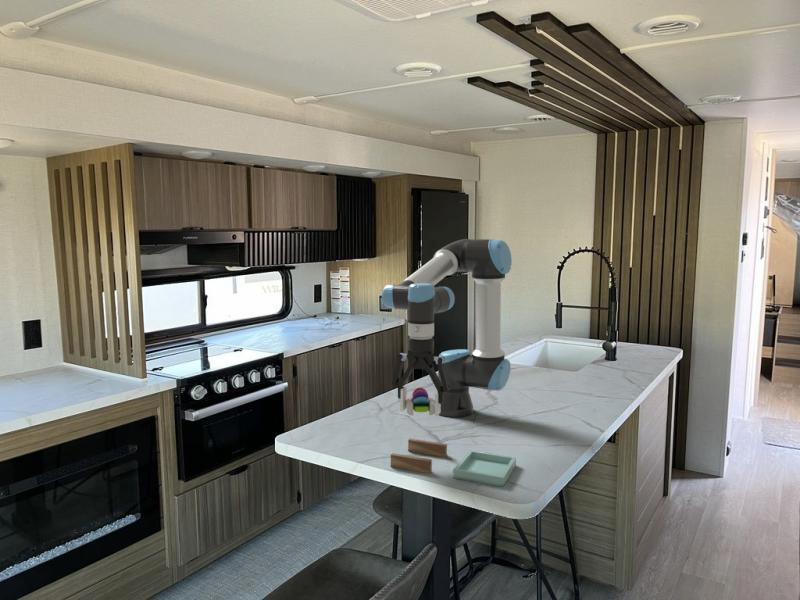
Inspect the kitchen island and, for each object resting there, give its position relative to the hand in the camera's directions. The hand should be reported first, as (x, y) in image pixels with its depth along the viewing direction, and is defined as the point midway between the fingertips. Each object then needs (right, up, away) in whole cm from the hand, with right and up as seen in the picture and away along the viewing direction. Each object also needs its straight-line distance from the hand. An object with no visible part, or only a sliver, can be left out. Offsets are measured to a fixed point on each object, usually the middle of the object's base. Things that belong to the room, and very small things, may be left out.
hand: (420, 411), depth 177 cm
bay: (0, -15, +2) cm, 15 cm away
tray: (+18, -16, -6) cm, 25 cm away
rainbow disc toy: (0, -1, 0) cm, 1 cm away
